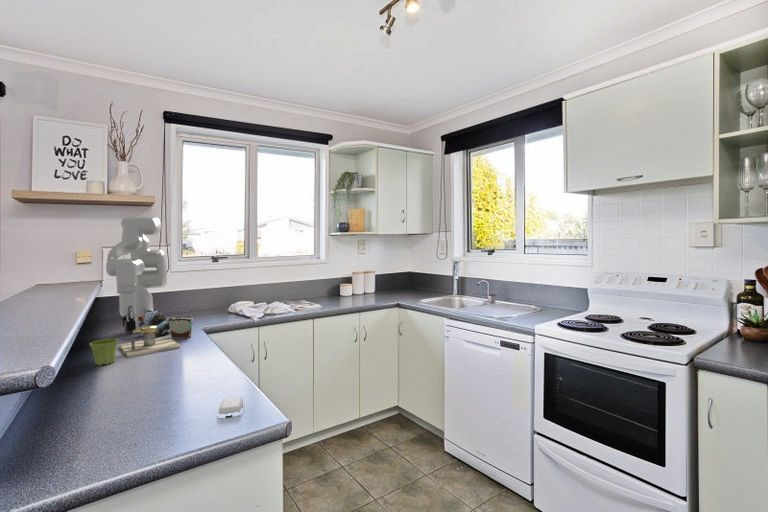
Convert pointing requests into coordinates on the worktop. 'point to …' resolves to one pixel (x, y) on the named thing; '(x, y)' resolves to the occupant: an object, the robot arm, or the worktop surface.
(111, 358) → the plant pot
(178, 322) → the food container
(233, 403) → the soap
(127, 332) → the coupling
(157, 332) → the lucky cat figurine
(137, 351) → the post base
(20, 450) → the worktop surface
